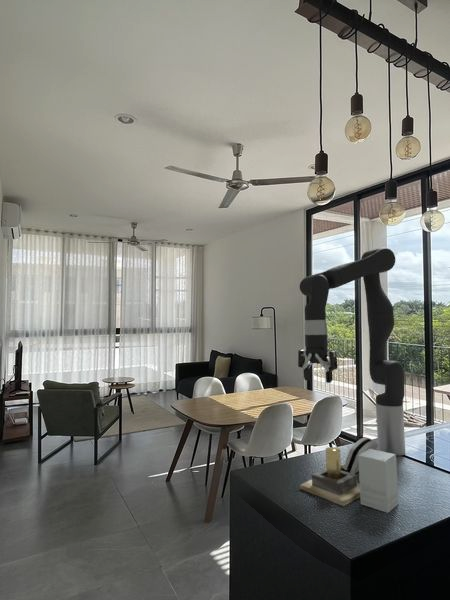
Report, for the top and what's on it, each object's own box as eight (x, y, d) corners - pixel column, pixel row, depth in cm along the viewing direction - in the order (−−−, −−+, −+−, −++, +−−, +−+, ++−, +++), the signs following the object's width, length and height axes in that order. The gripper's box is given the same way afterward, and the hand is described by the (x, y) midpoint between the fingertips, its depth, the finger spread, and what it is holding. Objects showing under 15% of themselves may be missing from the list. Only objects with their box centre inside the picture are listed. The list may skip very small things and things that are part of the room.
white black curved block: (359, 456, 132) (367, 431, 130) (371, 464, 129) (380, 438, 127) (338, 470, 120) (347, 442, 118) (352, 479, 116) (361, 450, 115)
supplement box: (399, 503, 97) (397, 454, 98) (387, 514, 91) (385, 461, 92) (371, 495, 102) (369, 447, 103) (359, 504, 97) (357, 454, 98)
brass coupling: (331, 481, 108) (330, 446, 109) (344, 485, 105) (343, 449, 106) (323, 485, 106) (322, 449, 106) (336, 490, 102) (335, 452, 103)
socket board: (326, 476, 115) (326, 462, 115) (369, 491, 104) (368, 475, 104) (300, 489, 106) (299, 473, 107) (343, 506, 96) (343, 489, 96)
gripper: (340, 333, 124) (342, 382, 123) (305, 333, 135) (307, 378, 134) (327, 333, 119) (329, 385, 118) (292, 333, 130) (294, 380, 129)
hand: (317, 381), depth 126 cm, fingers open, 8 cm apart
